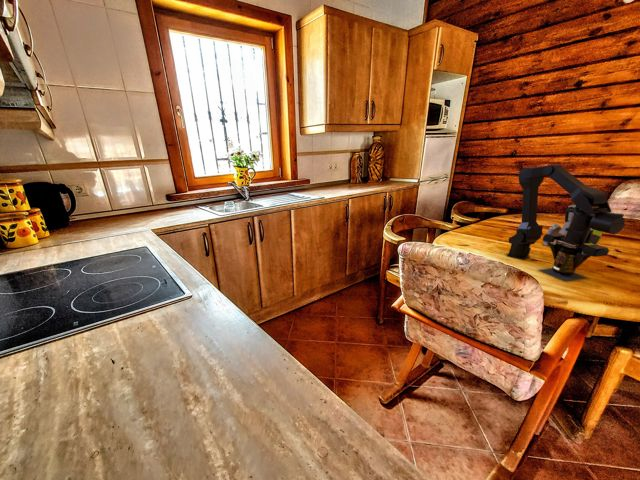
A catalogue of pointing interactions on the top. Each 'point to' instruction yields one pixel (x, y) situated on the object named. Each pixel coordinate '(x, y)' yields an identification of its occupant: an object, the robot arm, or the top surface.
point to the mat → (561, 276)
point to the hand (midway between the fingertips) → (565, 264)
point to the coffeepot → (567, 220)
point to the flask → (552, 231)
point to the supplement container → (566, 260)
